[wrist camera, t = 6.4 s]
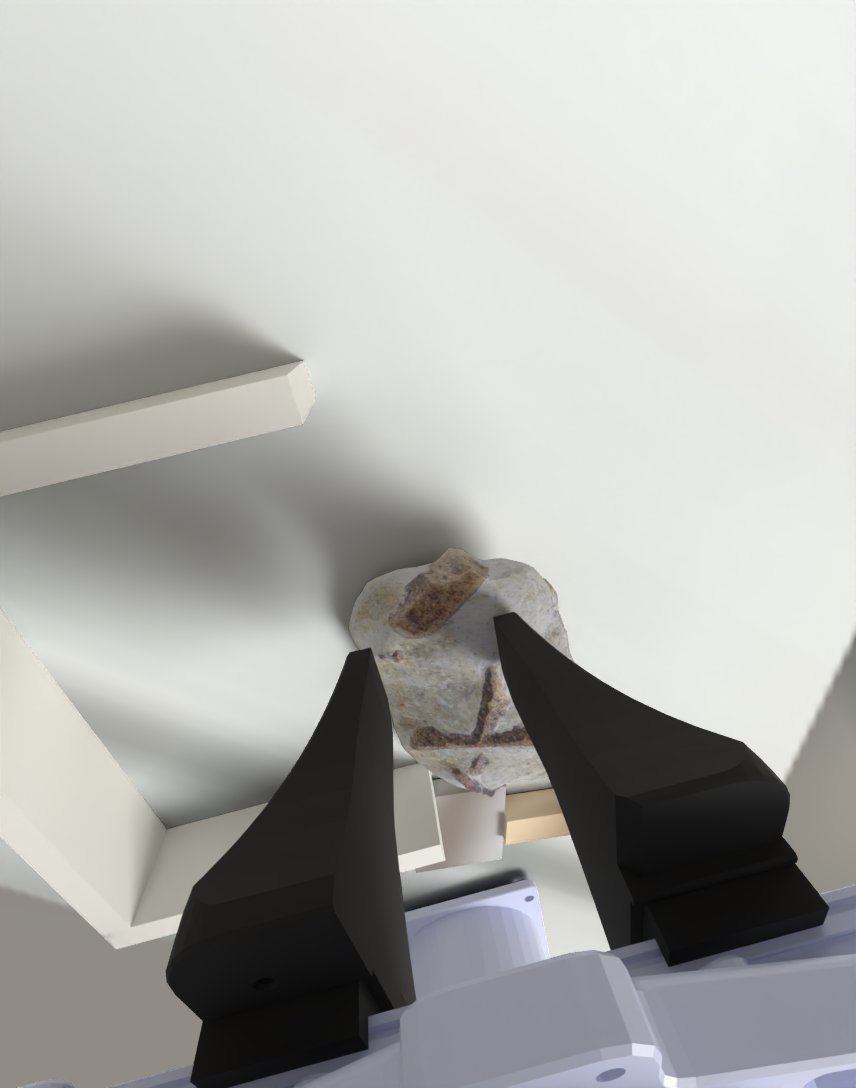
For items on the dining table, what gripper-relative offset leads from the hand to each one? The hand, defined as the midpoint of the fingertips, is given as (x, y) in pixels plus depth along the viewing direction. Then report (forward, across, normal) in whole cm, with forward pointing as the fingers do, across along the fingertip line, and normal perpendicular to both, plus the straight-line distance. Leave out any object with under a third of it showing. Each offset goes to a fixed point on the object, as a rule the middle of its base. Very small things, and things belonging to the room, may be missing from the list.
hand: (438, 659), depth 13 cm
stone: (+3, -4, 0) cm, 5 cm away
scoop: (+3, -3, +12) cm, 13 cm away
